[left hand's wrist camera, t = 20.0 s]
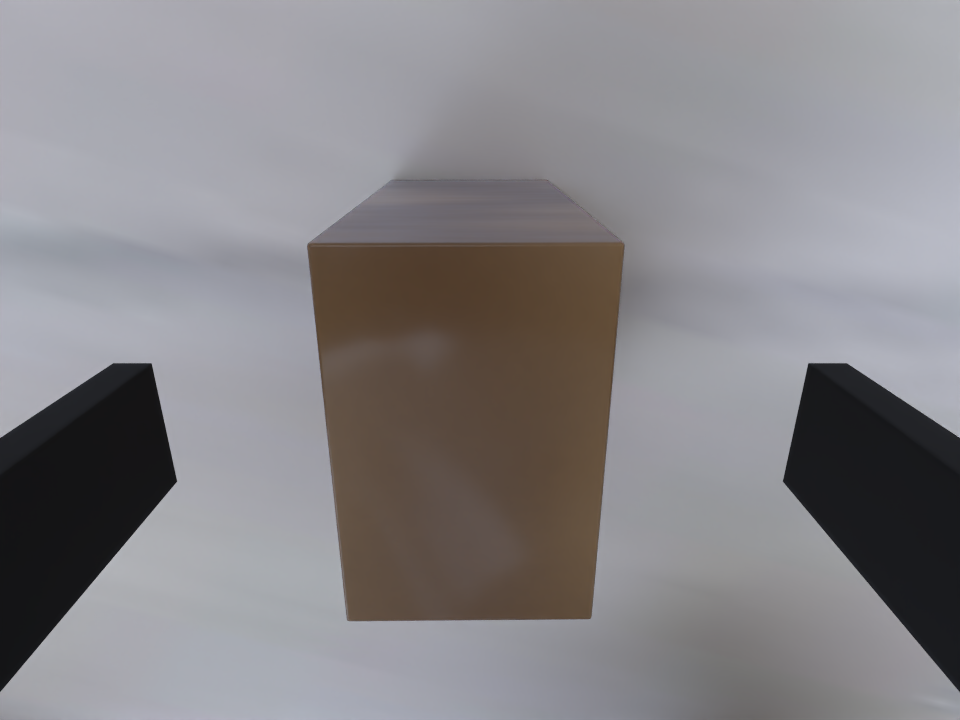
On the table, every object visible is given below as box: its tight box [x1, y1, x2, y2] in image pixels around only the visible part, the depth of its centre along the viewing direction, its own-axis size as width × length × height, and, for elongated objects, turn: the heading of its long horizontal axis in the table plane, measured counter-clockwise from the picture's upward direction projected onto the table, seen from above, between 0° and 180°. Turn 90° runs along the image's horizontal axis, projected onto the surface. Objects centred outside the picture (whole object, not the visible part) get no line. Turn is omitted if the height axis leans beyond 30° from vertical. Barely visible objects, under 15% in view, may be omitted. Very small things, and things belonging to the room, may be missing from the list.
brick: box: [307, 180, 625, 621], centre depth 16 cm, size 5×8×11 cm, turn 0°
